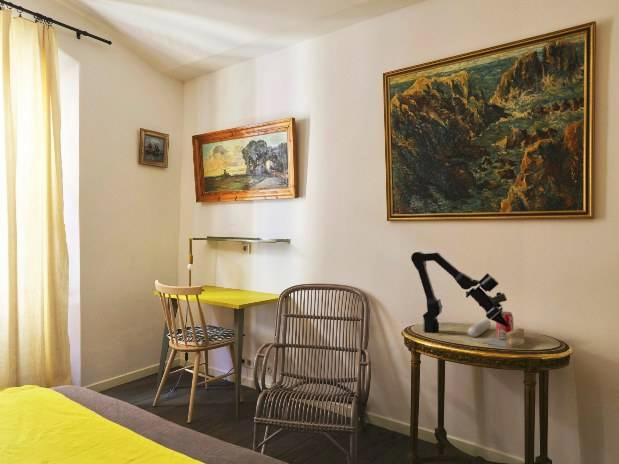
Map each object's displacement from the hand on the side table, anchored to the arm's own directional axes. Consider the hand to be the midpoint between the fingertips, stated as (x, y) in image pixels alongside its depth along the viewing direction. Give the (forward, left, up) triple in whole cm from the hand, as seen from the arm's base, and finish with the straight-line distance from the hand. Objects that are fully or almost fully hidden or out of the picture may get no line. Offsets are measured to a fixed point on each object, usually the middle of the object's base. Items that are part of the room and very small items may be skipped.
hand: (508, 324), depth 197 cm
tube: (-9, +13, -7) cm, 17 cm away
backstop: (-1, -11, -7) cm, 13 cm away
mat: (-7, -10, -7) cm, 13 cm away
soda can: (-1, 0, -7) cm, 7 cm away
